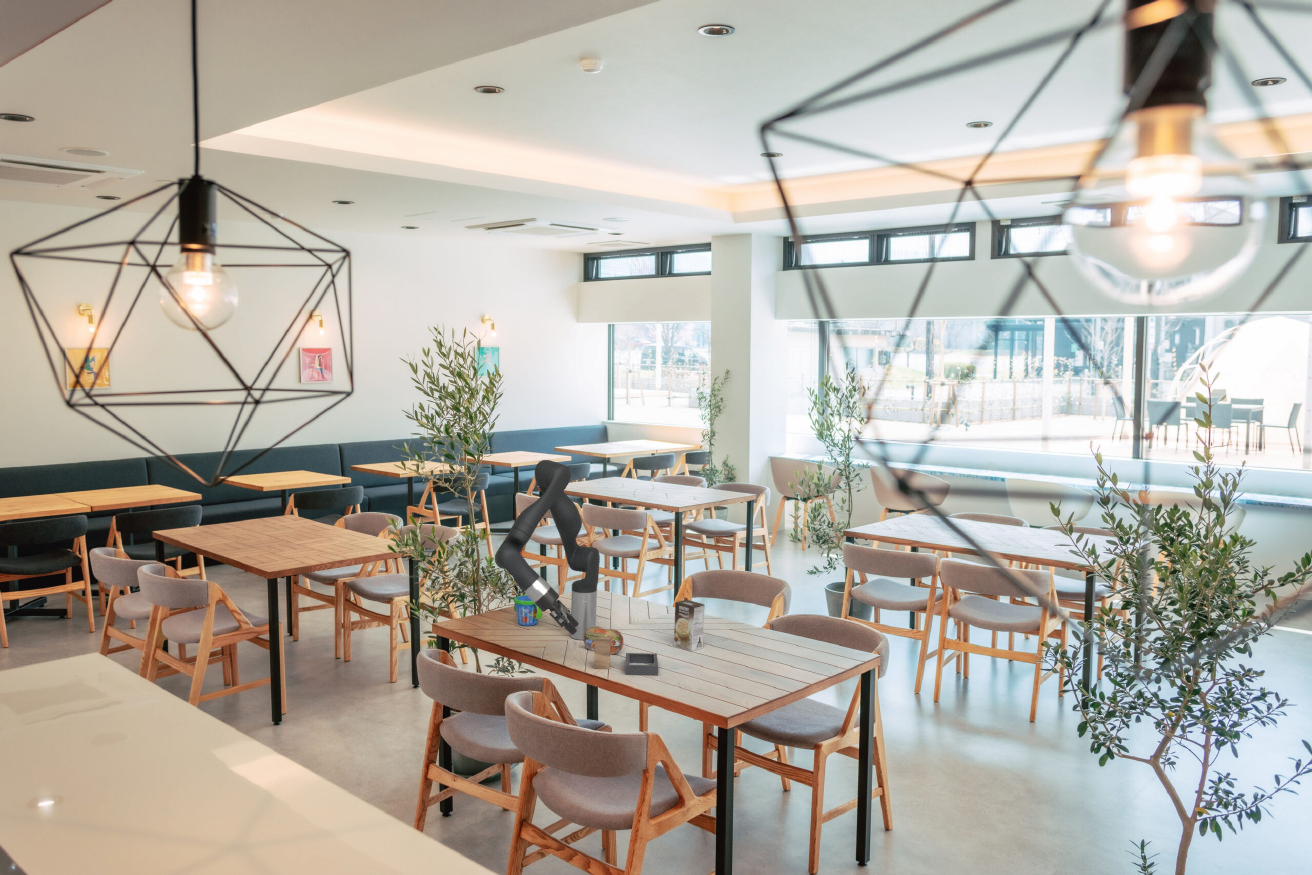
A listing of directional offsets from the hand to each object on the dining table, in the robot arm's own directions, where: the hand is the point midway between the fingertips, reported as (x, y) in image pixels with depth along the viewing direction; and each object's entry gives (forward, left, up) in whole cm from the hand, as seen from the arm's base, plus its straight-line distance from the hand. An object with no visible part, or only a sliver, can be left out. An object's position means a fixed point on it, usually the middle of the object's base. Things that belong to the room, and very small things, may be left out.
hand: (575, 629), depth 301 cm
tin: (-18, +9, -13) cm, 24 cm away
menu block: (0, +9, -12) cm, 15 cm away
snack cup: (-52, -21, -13) cm, 58 cm away
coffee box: (-26, +39, -13) cm, 48 cm away
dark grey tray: (0, +22, -12) cm, 25 cm away
